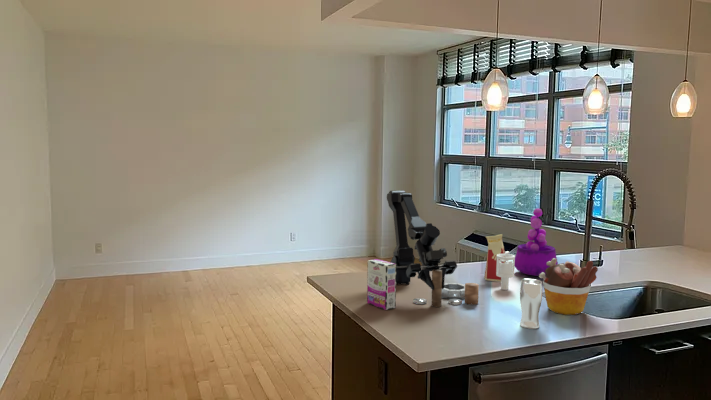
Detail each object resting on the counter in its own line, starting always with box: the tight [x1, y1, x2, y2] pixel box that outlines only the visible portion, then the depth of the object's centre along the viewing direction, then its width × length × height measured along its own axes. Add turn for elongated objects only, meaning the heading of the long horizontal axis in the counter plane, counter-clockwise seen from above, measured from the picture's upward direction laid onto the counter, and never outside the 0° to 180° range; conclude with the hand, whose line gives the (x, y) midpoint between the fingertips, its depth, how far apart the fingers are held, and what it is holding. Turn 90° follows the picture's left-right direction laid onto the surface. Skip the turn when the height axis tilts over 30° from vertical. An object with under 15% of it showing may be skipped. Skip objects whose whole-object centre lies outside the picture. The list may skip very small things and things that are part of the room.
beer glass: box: [519, 278, 543, 330], centre depth 183 cm, size 7×7×15 cm
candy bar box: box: [366, 258, 397, 311], centre depth 204 cm, size 11×5×16 cm, turn 37°
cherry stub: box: [464, 282, 480, 306], centre depth 208 cm, size 5×5×7 cm
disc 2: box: [447, 299, 463, 306], centre depth 208 cm, size 5×5×1 cm
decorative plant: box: [514, 207, 559, 277], centre depth 249 cm, size 19×18×30 cm
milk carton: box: [483, 233, 507, 283], centre depth 242 cm, size 9×9×20 cm
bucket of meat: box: [538, 257, 599, 316], centre depth 198 cm, size 20×16×20 cm
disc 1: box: [412, 297, 428, 305], centre depth 209 cm, size 5×5×1 cm
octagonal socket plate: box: [442, 282, 465, 300], centre depth 219 cm, size 16×12×3 cm
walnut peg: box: [431, 270, 442, 308], centre depth 204 cm, size 4×4×13 cm
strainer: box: [496, 250, 516, 291], centre depth 226 cm, size 7×7×15 cm
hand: (438, 288), depth 203 cm, fingers closed on walnut peg, 4 cm apart
